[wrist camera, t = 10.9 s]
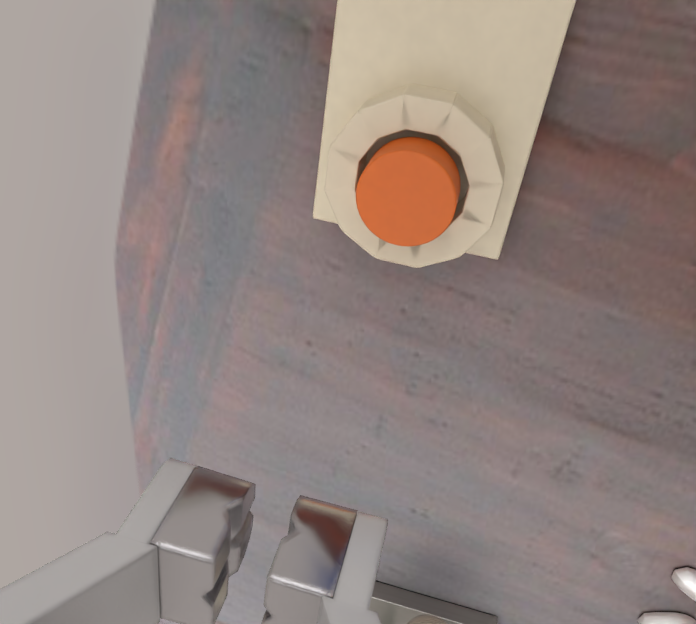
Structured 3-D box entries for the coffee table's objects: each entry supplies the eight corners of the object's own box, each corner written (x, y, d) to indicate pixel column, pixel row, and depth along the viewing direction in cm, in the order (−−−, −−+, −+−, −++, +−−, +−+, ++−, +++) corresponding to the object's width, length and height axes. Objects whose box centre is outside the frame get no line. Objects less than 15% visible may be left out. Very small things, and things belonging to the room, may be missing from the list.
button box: (352, -50, 23) (329, -45, 20) (574, -11, 22) (582, -1, 19) (321, 209, 29) (299, 241, 26) (498, 248, 28) (495, 286, 25)
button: (373, 127, 23) (362, 140, 22) (470, 147, 23) (467, 162, 21) (358, 217, 25) (348, 235, 24) (448, 237, 25) (444, 257, 23)
